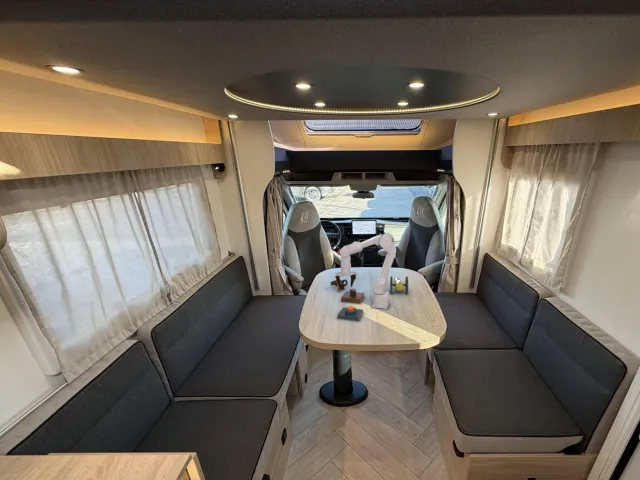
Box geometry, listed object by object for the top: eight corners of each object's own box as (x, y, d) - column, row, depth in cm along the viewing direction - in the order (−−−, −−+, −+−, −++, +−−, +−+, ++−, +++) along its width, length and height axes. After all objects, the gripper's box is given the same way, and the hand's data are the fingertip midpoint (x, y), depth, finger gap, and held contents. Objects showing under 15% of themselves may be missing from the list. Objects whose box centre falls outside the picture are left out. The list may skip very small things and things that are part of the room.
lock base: (364, 297, 199) (364, 292, 198) (360, 303, 190) (360, 299, 189) (346, 295, 202) (346, 290, 201) (341, 301, 193) (341, 297, 192)
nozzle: (354, 309, 175) (354, 306, 175) (352, 311, 172) (352, 309, 172) (348, 308, 176) (348, 305, 176) (346, 311, 173) (346, 308, 172)
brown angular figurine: (334, 293, 205) (329, 282, 205) (332, 294, 214) (328, 283, 214) (351, 286, 208) (346, 275, 208) (348, 287, 217) (343, 276, 218)
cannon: (388, 282, 222) (388, 267, 218) (404, 282, 222) (405, 267, 218) (390, 297, 199) (390, 280, 195) (408, 297, 199) (409, 280, 195)
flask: (363, 312, 179) (363, 306, 177) (358, 321, 170) (358, 314, 168) (343, 310, 181) (343, 304, 180) (337, 318, 172) (337, 312, 171)
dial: (356, 294, 196) (356, 288, 195) (355, 296, 192) (355, 290, 191) (350, 293, 197) (350, 287, 196) (348, 295, 193) (348, 290, 192)
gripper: (355, 263, 190) (355, 283, 195) (332, 264, 186) (332, 285, 191) (358, 267, 184) (358, 288, 189) (334, 268, 180) (334, 290, 185)
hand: (345, 287), depth 189 cm, fingers open, 7 cm apart
